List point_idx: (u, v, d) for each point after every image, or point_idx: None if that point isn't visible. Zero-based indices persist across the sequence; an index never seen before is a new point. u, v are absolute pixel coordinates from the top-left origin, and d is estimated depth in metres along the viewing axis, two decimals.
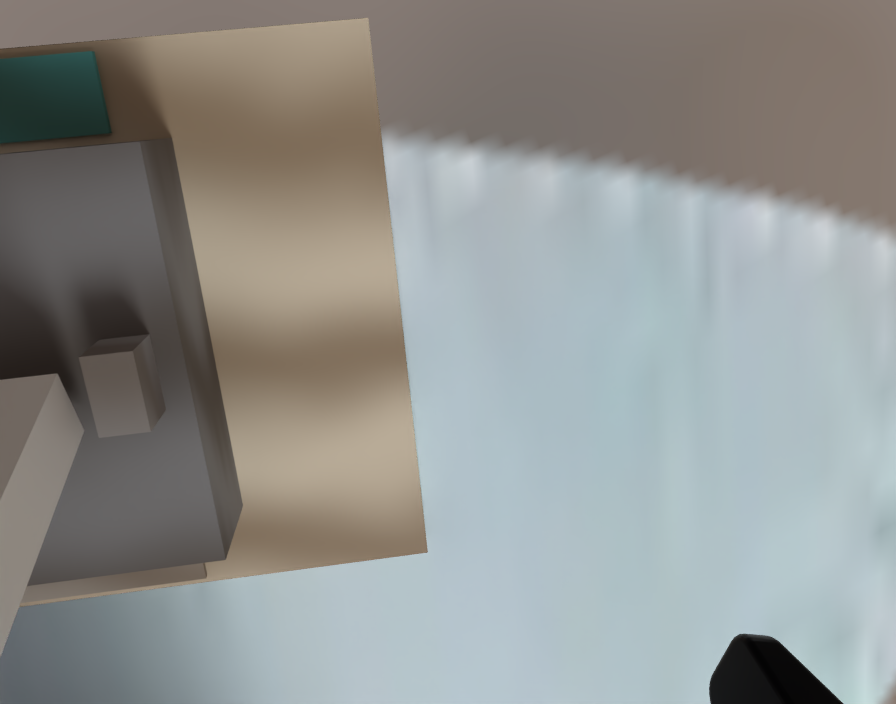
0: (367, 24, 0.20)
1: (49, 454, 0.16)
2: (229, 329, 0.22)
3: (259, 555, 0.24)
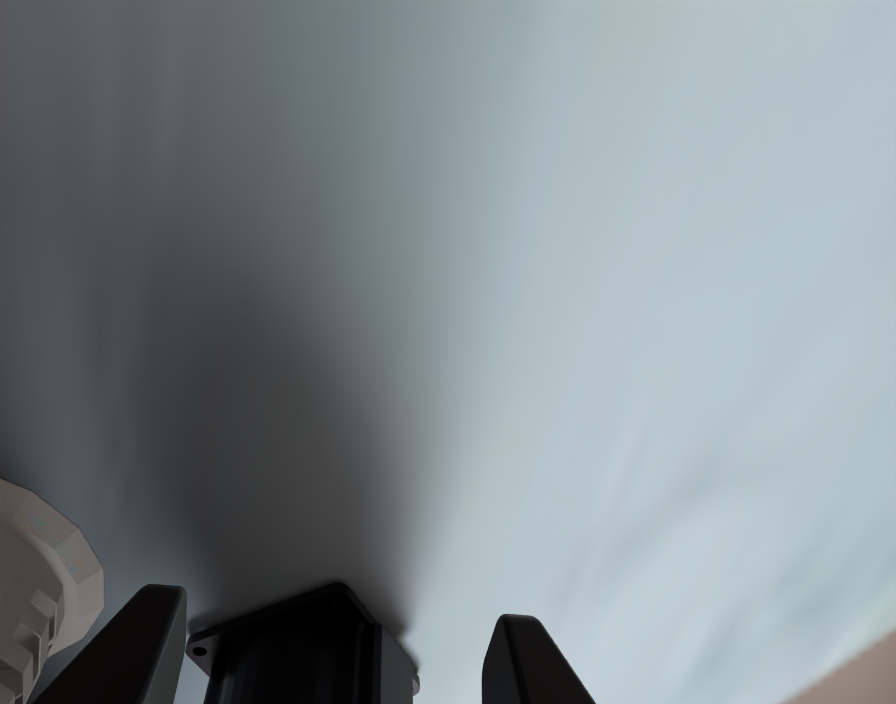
0: None
1: None
2: None
3: None
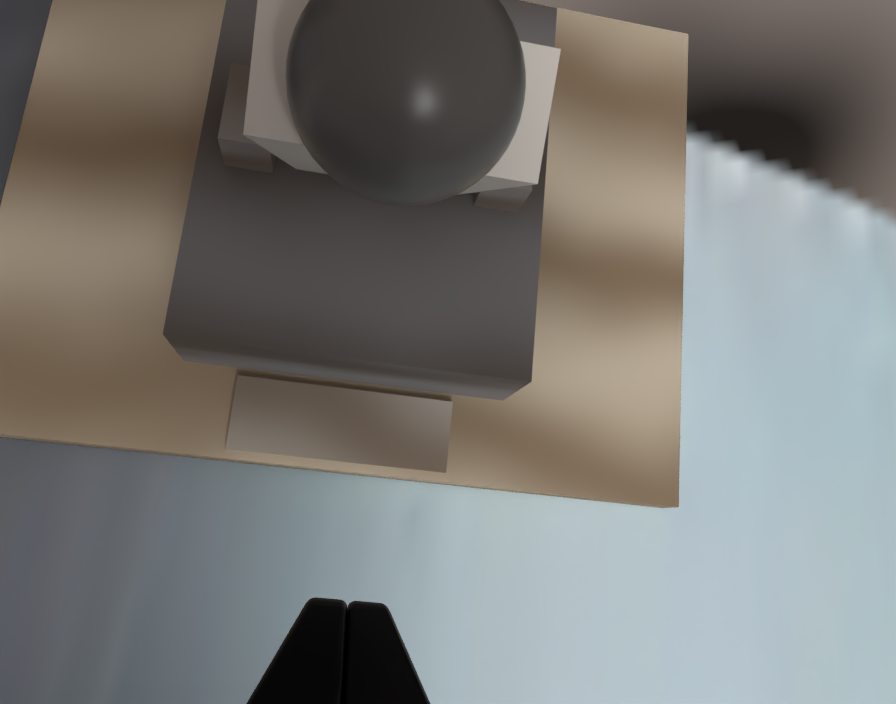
0: (687, 37, 0.26)
1: None
2: None
3: (505, 463, 0.22)
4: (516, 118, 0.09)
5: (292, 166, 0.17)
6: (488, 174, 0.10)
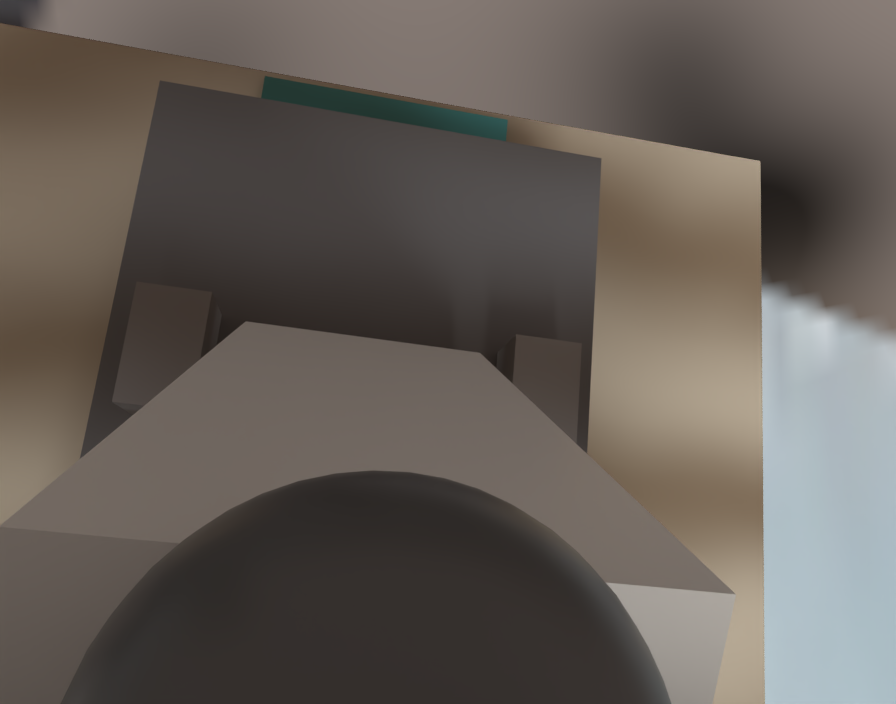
0: (759, 165, 0.20)
1: None
2: None
3: None
4: None
5: None
6: None
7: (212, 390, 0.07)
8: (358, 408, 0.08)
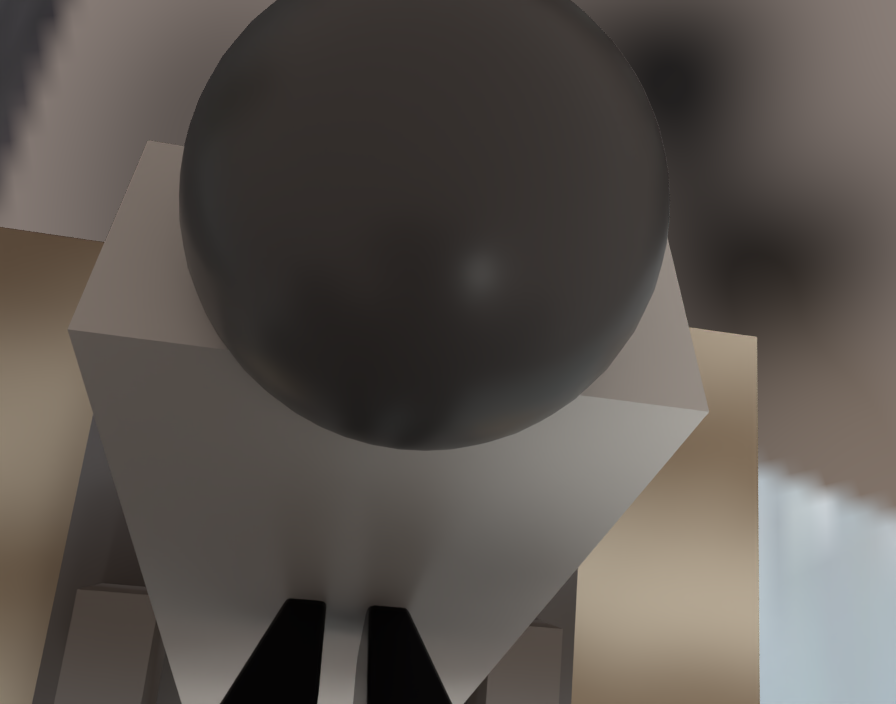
0: (756, 342, 0.19)
1: None
2: None
3: None
4: (669, 202, 0.04)
5: (177, 686, 0.10)
6: (607, 396, 0.05)
7: None
8: None
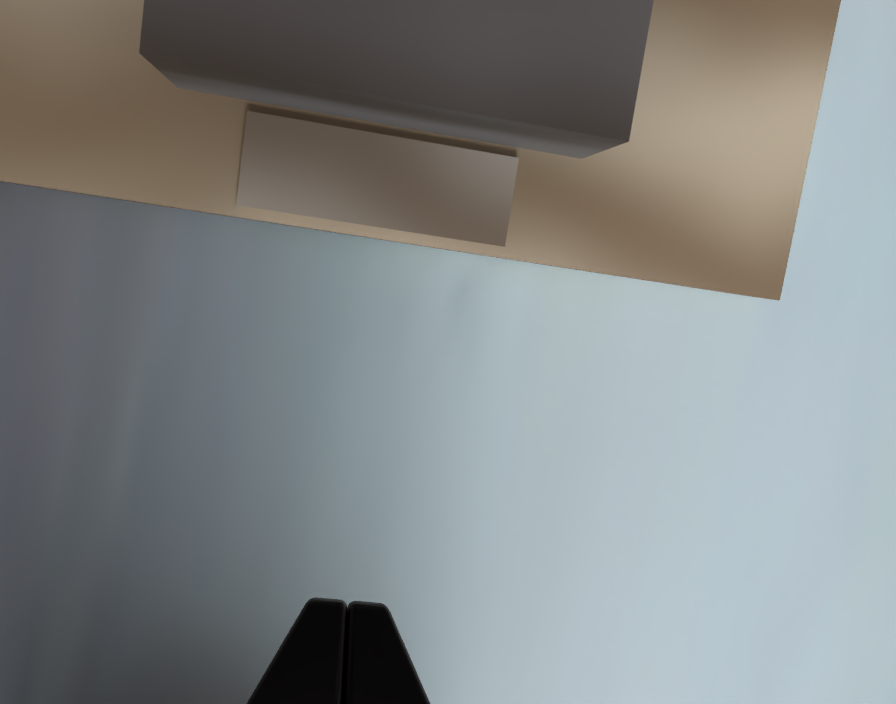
0: None
1: None
2: None
3: (577, 238, 0.18)
4: None
5: None
6: None
7: None
8: None
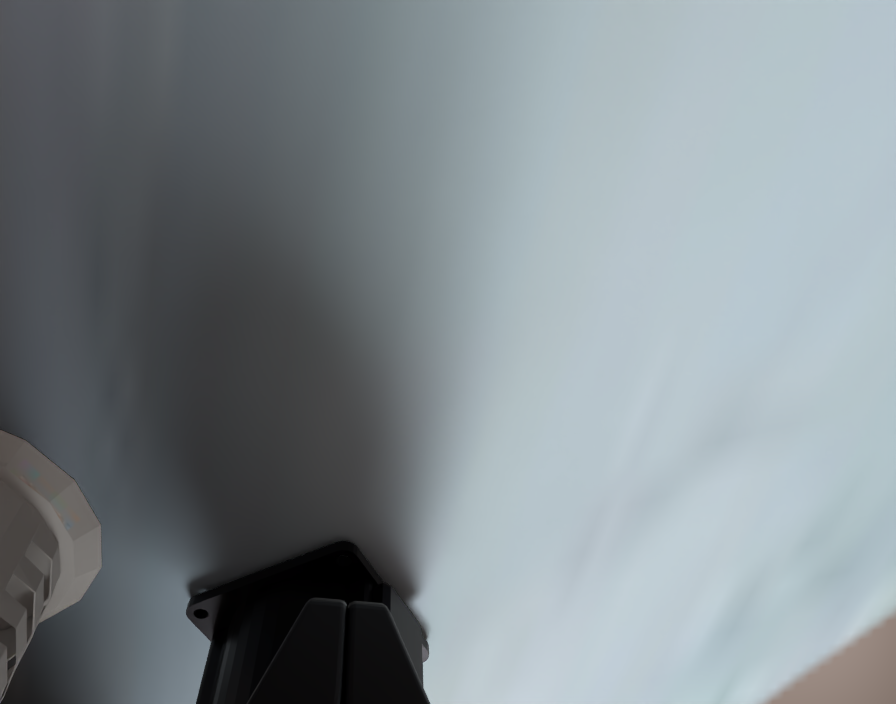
0: None
1: None
2: None
3: None
4: None
5: None
6: None
7: None
8: None
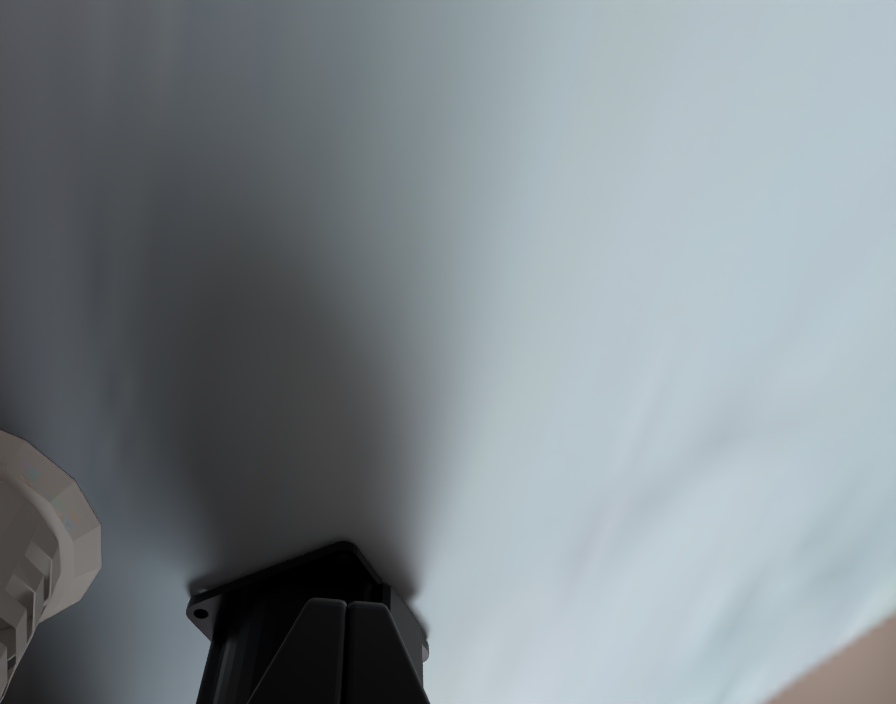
0: None
1: None
2: None
3: None
4: None
5: None
6: None
7: None
8: None
